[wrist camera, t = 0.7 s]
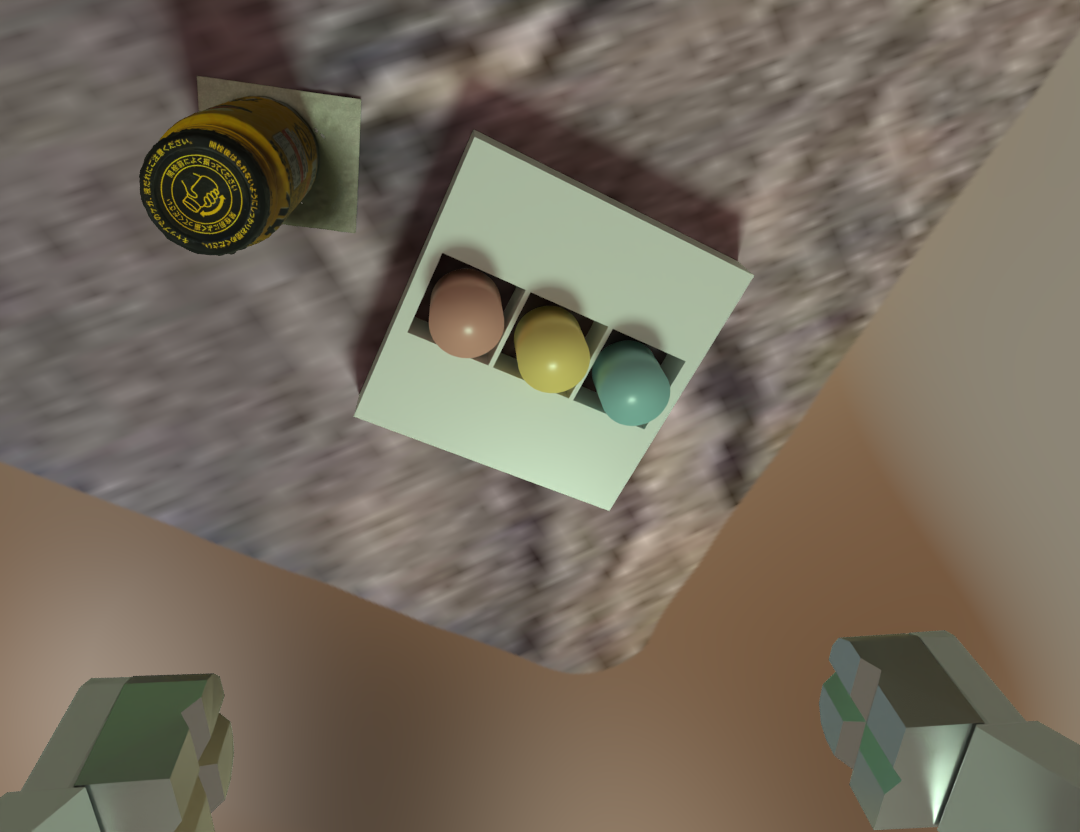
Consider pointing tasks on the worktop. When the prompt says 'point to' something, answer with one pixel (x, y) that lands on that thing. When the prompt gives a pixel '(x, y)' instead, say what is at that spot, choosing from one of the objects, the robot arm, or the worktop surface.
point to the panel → (568, 280)
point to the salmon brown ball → (466, 313)
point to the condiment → (253, 166)
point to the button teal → (630, 383)
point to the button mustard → (551, 349)
